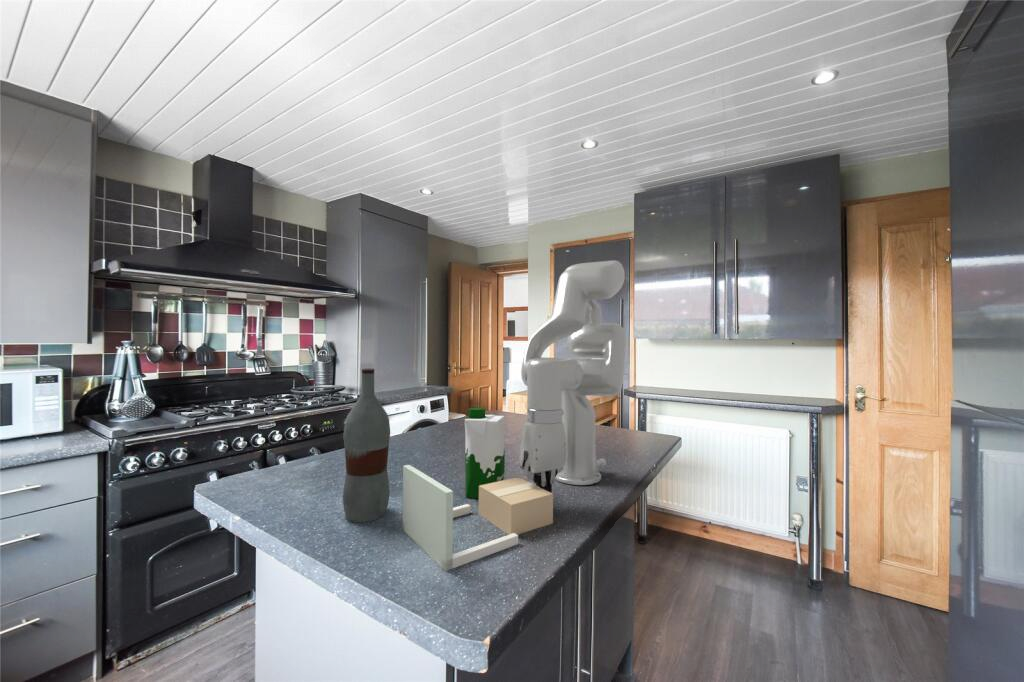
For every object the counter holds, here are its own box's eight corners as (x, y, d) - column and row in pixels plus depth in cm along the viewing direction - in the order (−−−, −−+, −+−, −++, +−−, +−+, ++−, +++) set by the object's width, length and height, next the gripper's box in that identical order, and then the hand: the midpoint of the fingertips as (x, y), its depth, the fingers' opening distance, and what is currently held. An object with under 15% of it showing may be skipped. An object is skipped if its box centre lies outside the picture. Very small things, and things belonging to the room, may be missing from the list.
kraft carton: (517, 504, 88) (518, 476, 88) (552, 524, 78) (553, 493, 78) (478, 514, 82) (478, 485, 82) (511, 537, 72) (511, 504, 72)
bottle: (337, 511, 82) (338, 368, 83) (380, 501, 88) (382, 367, 89) (349, 527, 75) (351, 370, 76) (396, 515, 81) (397, 369, 81)
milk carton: (472, 485, 98) (472, 405, 99) (507, 488, 97) (507, 406, 97) (460, 498, 90) (461, 411, 90) (499, 502, 88) (499, 412, 88)
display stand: (467, 511, 83) (467, 453, 83) (518, 544, 69) (518, 475, 69) (402, 529, 75) (403, 465, 75) (445, 571, 61) (446, 492, 61)
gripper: (557, 411, 92) (556, 490, 92) (506, 417, 83) (505, 505, 83) (581, 415, 86) (580, 500, 86) (528, 422, 77) (528, 517, 77)
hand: (543, 502), depth 84 cm, fingers closed
